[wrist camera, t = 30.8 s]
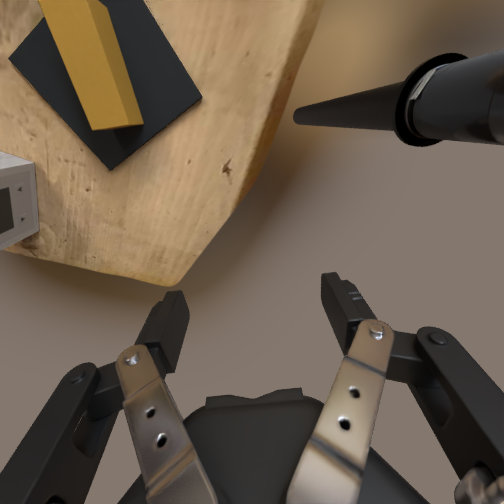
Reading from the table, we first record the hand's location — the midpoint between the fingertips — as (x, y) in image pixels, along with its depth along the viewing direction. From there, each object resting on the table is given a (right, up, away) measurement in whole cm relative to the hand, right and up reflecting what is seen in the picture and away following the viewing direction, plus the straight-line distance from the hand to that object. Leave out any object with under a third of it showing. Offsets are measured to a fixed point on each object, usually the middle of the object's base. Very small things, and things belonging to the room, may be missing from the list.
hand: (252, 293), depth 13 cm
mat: (-19, +25, +17) cm, 36 cm away
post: (-18, +19, +18) cm, 31 cm away
